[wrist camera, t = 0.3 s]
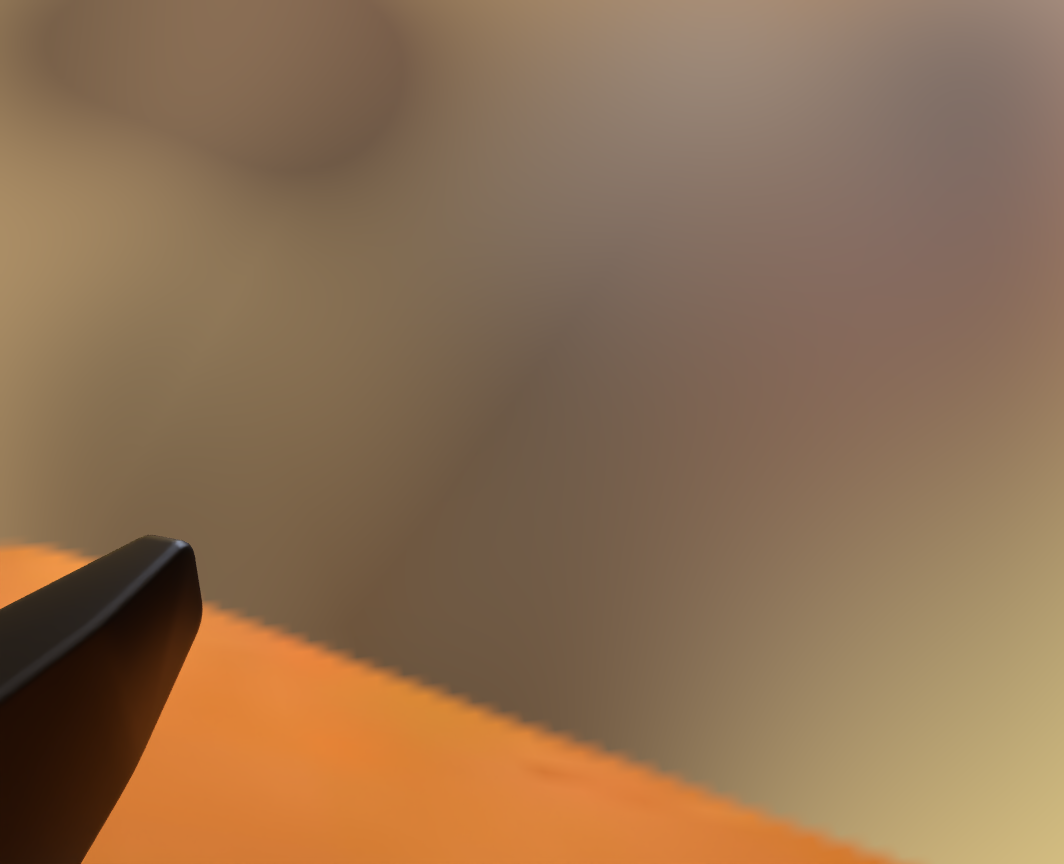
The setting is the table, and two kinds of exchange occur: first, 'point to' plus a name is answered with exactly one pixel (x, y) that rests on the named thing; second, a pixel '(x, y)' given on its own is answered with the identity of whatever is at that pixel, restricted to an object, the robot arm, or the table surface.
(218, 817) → the table surface
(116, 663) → the robot arm
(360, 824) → the table surface
